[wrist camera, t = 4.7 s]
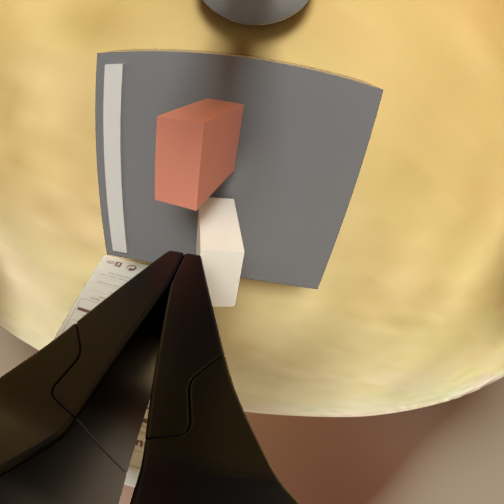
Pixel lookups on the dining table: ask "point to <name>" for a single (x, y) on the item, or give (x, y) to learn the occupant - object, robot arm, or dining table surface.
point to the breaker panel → (247, 160)
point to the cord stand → (256, 10)
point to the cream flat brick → (220, 249)
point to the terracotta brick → (196, 151)
